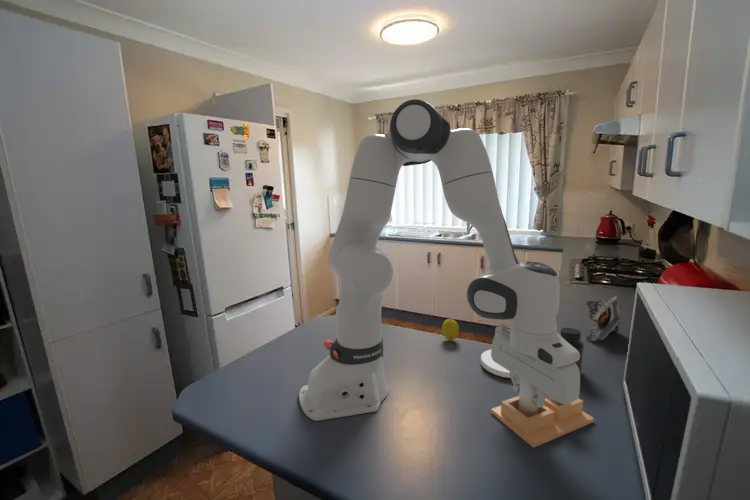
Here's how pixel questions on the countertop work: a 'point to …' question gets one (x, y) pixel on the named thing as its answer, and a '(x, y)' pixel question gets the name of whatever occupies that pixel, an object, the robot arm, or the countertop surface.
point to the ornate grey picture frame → (603, 318)
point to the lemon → (450, 329)
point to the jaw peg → (527, 399)
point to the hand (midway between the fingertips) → (528, 398)
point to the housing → (543, 419)
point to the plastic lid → (493, 365)
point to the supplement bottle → (574, 343)
